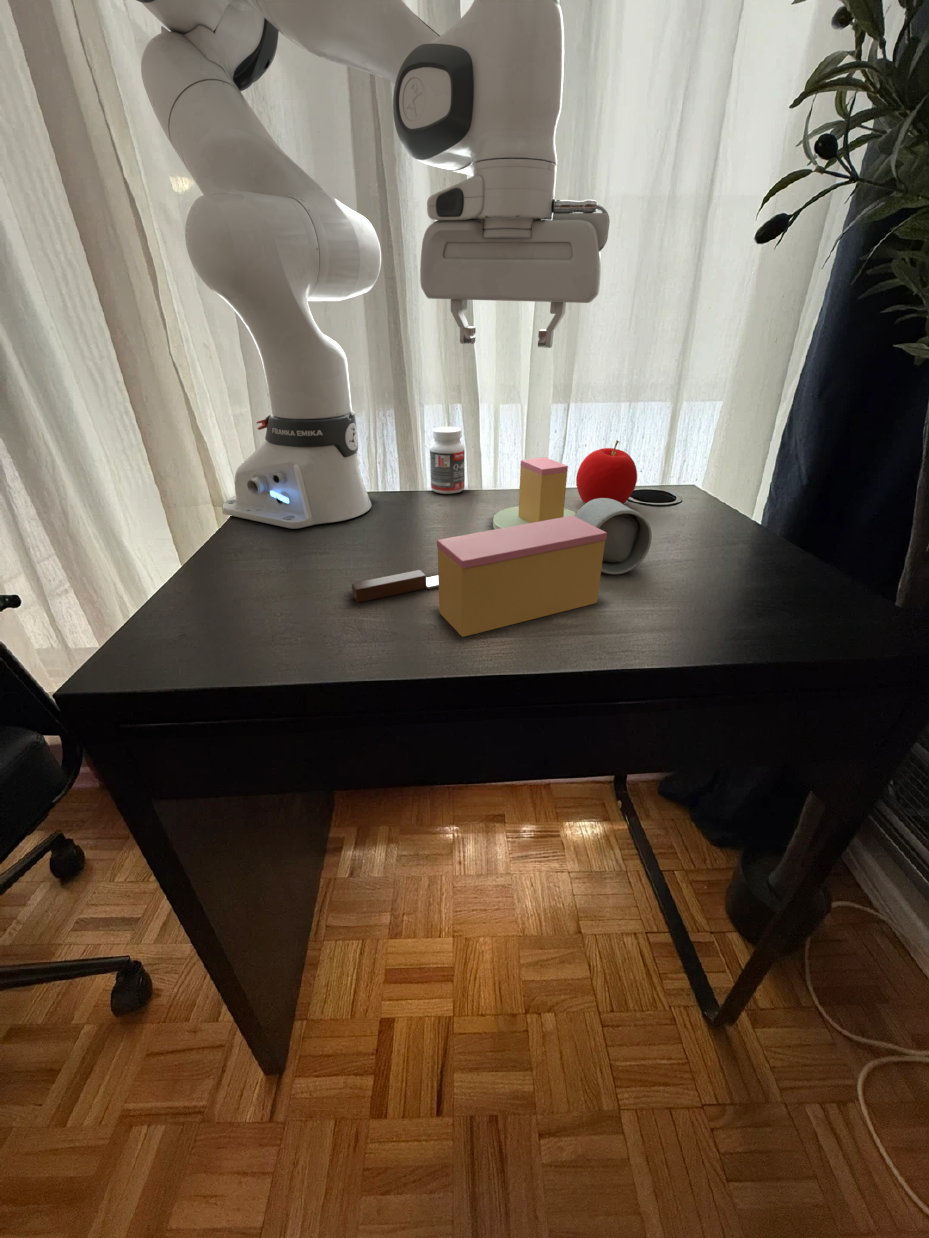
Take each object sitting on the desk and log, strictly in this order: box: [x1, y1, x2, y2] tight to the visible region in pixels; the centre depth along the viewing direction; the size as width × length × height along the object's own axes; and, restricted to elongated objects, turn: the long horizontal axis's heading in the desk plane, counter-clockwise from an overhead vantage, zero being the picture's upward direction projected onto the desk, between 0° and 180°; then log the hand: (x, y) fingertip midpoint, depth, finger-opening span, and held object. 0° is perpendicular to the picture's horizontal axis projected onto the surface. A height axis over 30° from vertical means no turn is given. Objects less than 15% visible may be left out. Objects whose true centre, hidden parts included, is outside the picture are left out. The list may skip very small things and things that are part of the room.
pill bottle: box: [429, 426, 466, 495], centre depth 94 cm, size 6×6×10 cm
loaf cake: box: [436, 516, 607, 638], centre depth 58 cm, size 16×6×8 cm, turn 116°
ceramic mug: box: [575, 498, 653, 575], centre depth 68 cm, size 11×8×8 cm
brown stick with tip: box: [351, 569, 439, 604], centre depth 65 cm, size 20×2×2 cm, turn 116°
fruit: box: [575, 439, 638, 505], centre depth 86 cm, size 9×9×10 cm
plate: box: [492, 505, 577, 530], centre depth 81 cm, size 13×13×1 cm
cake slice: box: [518, 456, 569, 523], centre depth 78 cm, size 4×6×8 cm
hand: (505, 345), depth 67 cm, fingers open, 8 cm apart
